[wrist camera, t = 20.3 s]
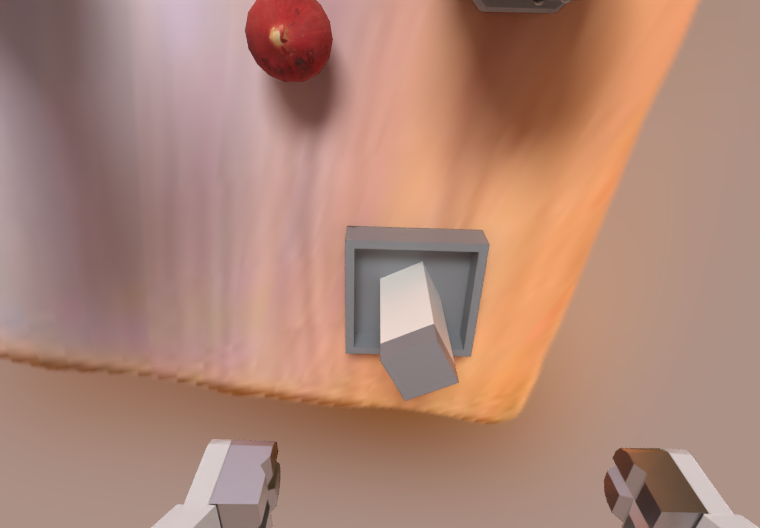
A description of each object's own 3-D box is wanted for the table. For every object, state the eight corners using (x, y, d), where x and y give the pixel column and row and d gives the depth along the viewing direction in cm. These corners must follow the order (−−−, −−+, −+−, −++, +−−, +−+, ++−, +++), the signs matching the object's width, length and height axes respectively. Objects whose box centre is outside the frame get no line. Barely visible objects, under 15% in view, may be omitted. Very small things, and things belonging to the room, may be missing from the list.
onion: (350, 53, 35) (342, 62, 28) (287, 89, 36) (264, 106, 29) (311, -27, 32) (292, -39, 25) (244, 15, 34) (209, 14, 27)
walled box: (347, 334, 48) (345, 353, 45) (347, 226, 42) (345, 239, 39) (465, 337, 48) (470, 356, 45) (482, 230, 42) (489, 244, 39)
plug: (399, 313, 46) (404, 400, 35) (380, 278, 44) (380, 360, 33) (440, 297, 45) (458, 382, 34) (422, 261, 43) (436, 340, 32)
